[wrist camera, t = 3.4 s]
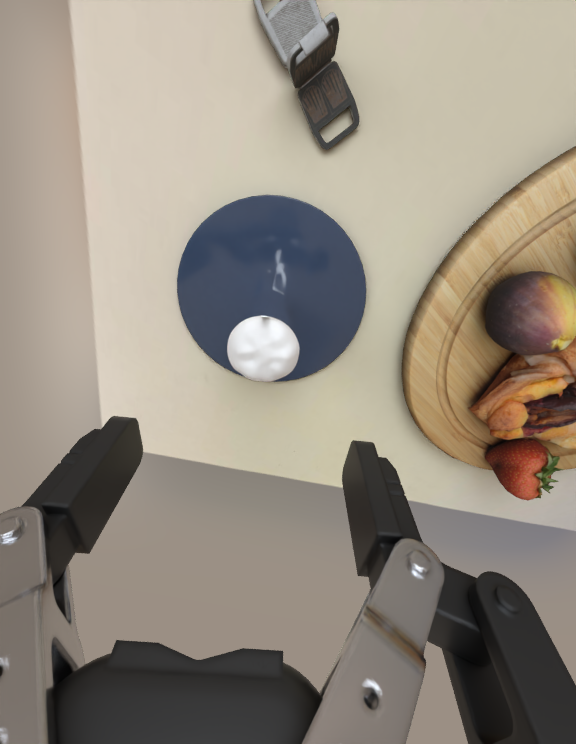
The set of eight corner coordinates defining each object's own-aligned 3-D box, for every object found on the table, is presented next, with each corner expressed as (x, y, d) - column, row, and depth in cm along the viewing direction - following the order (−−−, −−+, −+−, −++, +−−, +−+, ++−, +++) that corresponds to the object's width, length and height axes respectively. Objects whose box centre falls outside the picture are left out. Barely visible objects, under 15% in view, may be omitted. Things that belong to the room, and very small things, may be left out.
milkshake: (302, 274, 24) (307, 320, 16) (294, 335, 27) (294, 401, 18) (246, 268, 24) (220, 311, 15) (244, 329, 27) (221, 394, 18)
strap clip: (248, -1, 17) (235, -53, 13) (293, -48, 16) (293, -117, 12) (322, 154, 21) (327, 147, 17) (362, 123, 20) (377, 109, 16)
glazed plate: (185, 369, 30) (183, 372, 29) (171, 180, 22) (168, 180, 21) (342, 386, 31) (343, 389, 30) (388, 210, 22) (390, 210, 22)
